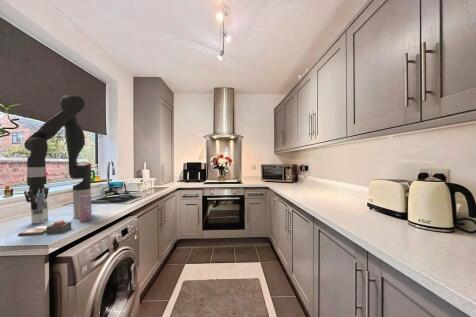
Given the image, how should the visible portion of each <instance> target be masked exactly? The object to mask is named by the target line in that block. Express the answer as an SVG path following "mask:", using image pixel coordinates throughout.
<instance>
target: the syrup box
mask: <svg viewBox="0 0 476 317" xmlns="http://www.w3.org/2000/svg"><path fill="white" fill-rule="evenodd" d="M48 208H49V207H48V198H47V199H45V200H44V207H43V213H39V214H33V213H32V210H31V209H30V214H31V215H30V217H31V224H41V223H45V222H46V221H48V220H49V214H48V213H49V211H48Z"/></svg>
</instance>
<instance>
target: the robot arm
mask: <svg viewBox="0 0 476 317" xmlns="http://www.w3.org/2000/svg"><path fill="white" fill-rule="evenodd" d="M59 102H60V103H59V105H60V109H61V111H59V112H58V113H57V114H55V115H54V116H52V117H51V118H48V119H47V121H45V122H44V124H42V126H41V127H39V129H38V130H37V131H35V132H34V133H32V134H31V135H30V136H29V137H28V138H27V139H26V140H25V142H24V144H23V146H24V148H25V149H26V150H27V151H30V155H29V156H28V157H27V159H26V160H27V161H26V164H27V165H26V167H27V169H26V185H27V186H29V188H28V190H25V191H23V194H24V197H25V201H26V203H29V204H30V211H31V210H37V198H38V197H39V193H43V196H42V197H43V207H44V200H45V199H47V200H48V195H49V189H50V188H49V187H45V185H47V169H46V157H47V153H48V147H49V146H48V145H49V144H48V142H47V141H49V140H51V139H52V138H54V137H55V136H56V135H57V133H59V131H60V130H61V129H62V128H63V127H64V130H65V131H64V132H65V139H66V147H67V154H68V157H67V158H68V173H69V177H70V178H71V179H72V180H73V179H74V180H79V179H81V180H82V181H81V182H79V183H77V184H73V185H72V208H73V210H72V212H73V215H72V216H73V218H74V219H79V196H80V195H91V194H92V193H91V185H92V183H91V182H92V181H91V180H92V168H91V165H90V164H88V163H82V164H81V163H80V164H79V163H78V162H77V161H78V157H79V155H80V153H81V151H82V150H83V149H84V146H85V144H86V140H85V139H86V137H85V133H84V130H83V129H82V127H81V125H80V124H79V122H78V119H77V115H78V114H79V113H81V112H82V111H83V110H84V108H85V107H86V102H85V100H84V98H83V97H81V96H78V95H63V96H62V97H60V101H59ZM34 195H36V196H34ZM91 196H92V195H91ZM33 198H34V199H33Z"/></svg>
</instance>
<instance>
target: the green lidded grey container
mask: <svg viewBox="0 0 476 317" xmlns="http://www.w3.org/2000/svg"><path fill="white" fill-rule="evenodd" d="M34 196H36V195H34ZM42 196H43V193H39V197H38V198H37V210H32V213H33V214H39V213H43V197H42ZM33 199H34V198H33Z"/></svg>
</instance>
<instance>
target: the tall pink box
mask: <svg viewBox="0 0 476 317" xmlns="http://www.w3.org/2000/svg"><path fill="white" fill-rule="evenodd" d="M92 217H93V216H92V195H80V196H79V218H78V220H79V223H87V222H90V221H92V220H93V219H92Z"/></svg>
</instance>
